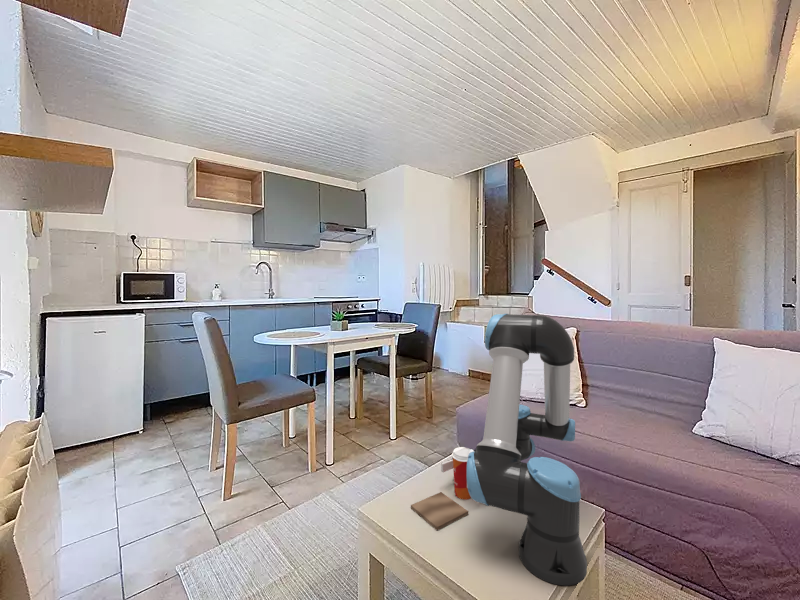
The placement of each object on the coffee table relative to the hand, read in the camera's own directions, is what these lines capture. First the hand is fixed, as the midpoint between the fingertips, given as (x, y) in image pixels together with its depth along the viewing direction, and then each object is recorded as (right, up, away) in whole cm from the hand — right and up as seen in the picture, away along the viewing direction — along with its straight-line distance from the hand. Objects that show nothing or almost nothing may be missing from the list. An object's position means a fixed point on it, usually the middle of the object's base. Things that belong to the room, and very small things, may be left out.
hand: (454, 475), depth 112 cm
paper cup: (+3, -8, +3) cm, 9 cm away
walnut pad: (-5, -8, -6) cm, 11 cm away
